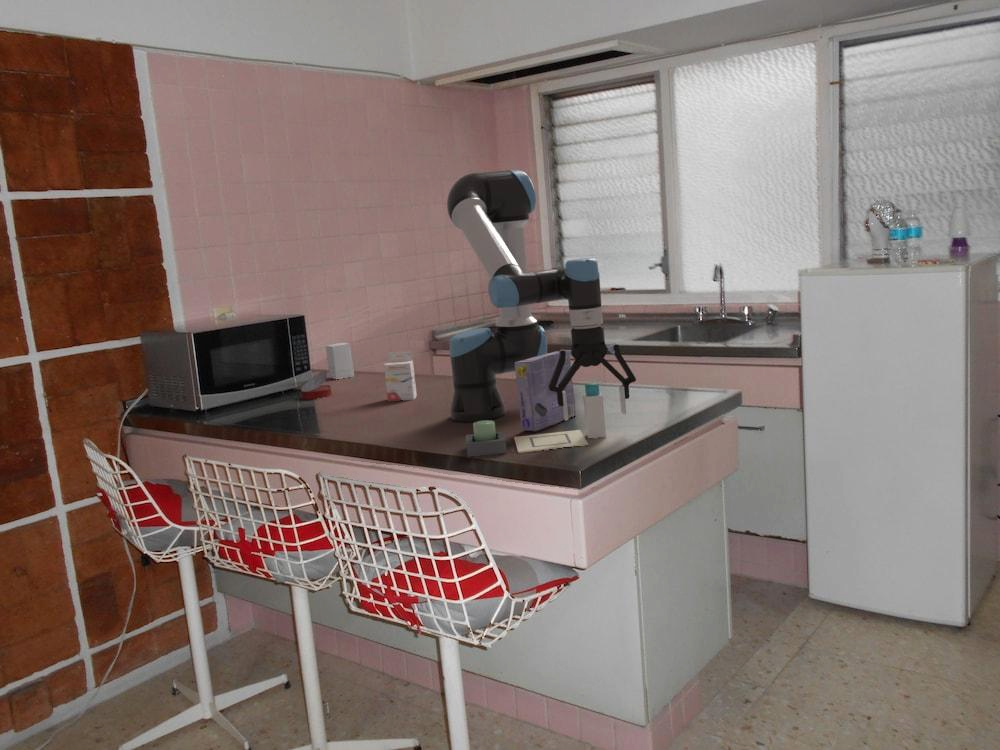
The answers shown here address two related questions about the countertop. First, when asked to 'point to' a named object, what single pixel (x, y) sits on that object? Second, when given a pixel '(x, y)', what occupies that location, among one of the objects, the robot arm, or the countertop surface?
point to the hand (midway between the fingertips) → (595, 416)
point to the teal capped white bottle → (594, 411)
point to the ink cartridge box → (400, 377)
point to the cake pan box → (541, 392)
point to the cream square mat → (549, 441)
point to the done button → (484, 430)
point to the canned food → (316, 387)
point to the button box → (486, 445)
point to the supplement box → (340, 360)
